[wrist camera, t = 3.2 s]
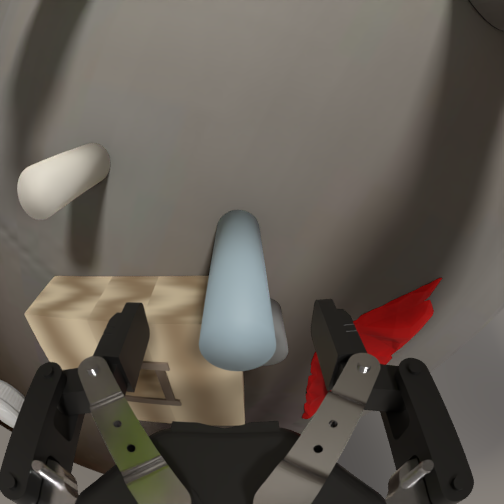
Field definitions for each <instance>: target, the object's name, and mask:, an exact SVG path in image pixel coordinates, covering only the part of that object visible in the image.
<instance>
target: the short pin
mask: <svg viewBox="0 0 504 504" xmlns="http://www.w3.org/2000/svg"><path fill="white" fill-rule="evenodd" d="M270 303H271V310H272V317H273V324H274V331H275V338H276V350H275V353H274V355H273V356H272V357H271V359H270V360H269V361H268V362H266V363H265V364H263V366H268V365H274V364H277V363H279V362H281V361H282V360H284V359H285V358H286V356H287V354H288V345H287V339H286V334H285V328H284V323H283V317H282V312H281V307H280V305H279V304H278V302H276V301H275V300H273V299H270Z"/></svg>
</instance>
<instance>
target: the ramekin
mask: <svg viewBox="0 0 504 504" xmlns="http://www.w3.org/2000/svg"><path fill="white" fill-rule="evenodd" d="M24 399H25V397H24V396H23V395H22V394H21V393H20V392H19V391H17V390H16V389H15V388H14V387H12V386H11V385H9V384H8V383H6V382H4V381H2V380H0V420H1V421H3V422H4V423H6V424H7V425H9V426H10V427H12V428H14V426H15V423H16V420H17V417H18V415H19V412H20V410H21V407H22V404H23V402H24Z"/></svg>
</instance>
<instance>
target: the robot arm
mask: <svg viewBox="0 0 504 504" xmlns="http://www.w3.org/2000/svg"><path fill="white" fill-rule="evenodd" d="M470 1H471V3H472V4H473V6H474V7H475V8H476V10H477V11H478V12H479V13H480V14H481V15H482V16H483V17H484V19H485V20H486V21H488V22H489V23H490V24H491V25H492V26H494V27H496V28H497V29H499V30H502V31H504V0H470ZM311 336H312V340H313V343H314V347H315V350H316V353H317V357H318V360H319V364H320V367H321V371H322V374H323V378H324V382H325V385H326V389H327V391H329V392H328V394H327V395H326V397H325V398H324V400H323V402H322V403H321V405H320V406H319V408H318V410H317V411H316V413H315V414H314V416H313V417H312V419H311V421H310V422H309V424H308V425H307V427H306V428H305V430H304V431H303V433H302V434H299V433H297V432H294V431H291V430H288V429H284V428H279V423H278V421H269V422H251V423H248V424H243V425H239V426H235V427H231V428H226V429H224V428H218V427H214V426H210V425H206V424H202V423H198V422H178V421H172V427H171V428H169V429H165V430H161V431H159V432H156V433H154V434H152V435H151V436H149V437H148V435H147V434H146V432H145V430H144V429H143V427H142V426H141V424H140V422H139V421H138V419H137V417H136V416H135V414H134V412H133V411H132V409H131V407H130V405H129V404H128V402H127V400H126V398H125V394H126V392H135V388H136V384H137V381H138V377H139V373H140V370H141V366H142V363H143V359H144V356H145V352H146V349H147V345H148V342H149V338H150V329H149V325H148V321H147V317H146V313H145V310H144V306H143V304H142V303H137V302H127V303H126V304H125V306H124V308H123V310H122V312H121V313H119V312H117V313H116V314H115V315H114V316H112V317H111V318H110V320H109V322H108V324H107V326H106V328H105V330H104V332H103V335H102V337H101V339H100V341H99V343H98V345H97V348H96V350H95V352H94V354H93V356H91V357H88V358H86V359H84V360H83V361H82V362H81V363H80V365H79V367H78V368H73V369H66V370H62V368H61V367H60V365H59V364H57V363H55V362H48V363H45V364H43V365H42V366H40V367H39V369H38V370H37V372H36V374H35V376H34V378H33V381H32V383H31V385H30V388H29V390H28V392H27V395H26V397H25V399H24V402H23V404H22V407H21V410H20V412H19V415H18V417H17V420H16V423H15V426H14V428H13V431H12V434H11V437H10V440H9V443H8V446H7V450H6V453H5V456H4V460H3V463H2V467H1V470H0V490H1V492H2V493H3V495H4V496H5V497H7V498H8V499H10V500H12V501H13V502H15V503H17V504H456V503H458V502H460V501H462V500H463V499H465V498H466V497H467V496H468V495H469V494H470V493H471V491H472V489H473V485H474V480H473V476H472V473H471V470H470V467H469V464H468V461H467V459H466V456H465V453H464V451H463V448H462V445H461V443H460V440H459V437H458V435H457V432H456V430H455V428H454V425H453V423H452V420H451V418H450V416H449V414H448V411H447V409H446V407H445V404H444V402H443V400H442V398H441V396H440V393H439V391H438V389H437V387H436V385H435V383H434V381H433V378H432V376H431V375H430V372H429V370H428V368H427V366H426V365H425V364H424V363H423V362H422V361H420V360H418V359H415V358H407V359H404V360H403V361H402V362H401V363H400V364H399V366H392V365H384V364H380V363H379V361H378V359H377V358H376V357H374V356H373V355H371V354H368V353H367V351H366V349H365V347H364V344H363V342H362V340H361V338H360V336H359V333H358V331H357V329H356V327H355V325H354V323H353V321H352V319H351V317H350V315H349V314H348V313H347V312H345V311H344V310H343V309H336V307H335V305H334V302H333V300H332V299H324V300H316V301H315V304H314V310H313V317H312V323H311ZM330 390H331V391H330ZM363 410H373V411H380V413H381V416H382V419H383V422H384V426H385V430H386V433H387V437H388V440H389V444H390V448H391V451H392V455H393V459H394V463H395V466H396V470H397V471H396V472H395V473H394V474H393V475H392V476H391V478H390V479H389V483H388V494H387V497H386V498H385V499H384V498H383V497H382V496H381V495H380V494H379V493H378V492H376V491H375V490H374V489H372V488H371V487H369V486H368V485H366V484H365V483H364V482H362V481H361V480H360V479H358V478H357V477H355V476H354V475H353V474H351V473H350V472H349V471H347V470H346V469H345V468H343V467H342V466H341V465H339V464H338V463H337V460H338V459H339V457H340V455H341V453H342V451H343V450H344V448H345V446H346V444H347V442H348V440H349V438H350V436H351V434H352V433H353V430H354V428H355V427H356V425H357V422H358V420H359V418H360V416H361V414H362V412H363ZM85 413H92V416H93V418H94V420H95V422H96V425H97V427H98V429H99V431H100V433H101V435H102V437H103V439H104V442H105V444H106V446H107V448H108V450H109V451H110V453H111V455H112V457H113V459H114V461H115V463H116V465H115V466H113V467H112V468H111V469H110V470H109V471H107V472H106V473H105V474H104V475H102V476H101V477H100V478H99V479H98V480H96V481H95V482H94V483H93V484H91V485H90V486H89V487H88V488H86V489H85V490H84V491H83V492H81V493H80V495H78V490H77V482H76V480H75V478H74V476H73V475H72V474H71V471H72V466H73V461H74V456H75V452H76V447H77V443H78V439H79V434H80V430H81V426H82V422H83V418H84V415H85Z"/></svg>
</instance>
